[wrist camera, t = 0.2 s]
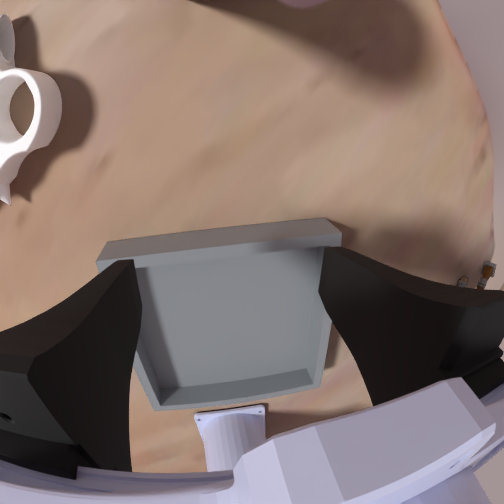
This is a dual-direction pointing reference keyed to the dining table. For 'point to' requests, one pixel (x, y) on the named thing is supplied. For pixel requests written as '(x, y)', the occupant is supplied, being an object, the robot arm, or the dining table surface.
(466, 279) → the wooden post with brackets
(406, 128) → the dining table surface
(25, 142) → the white muffin tin
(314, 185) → the dining table surface
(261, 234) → the tray
